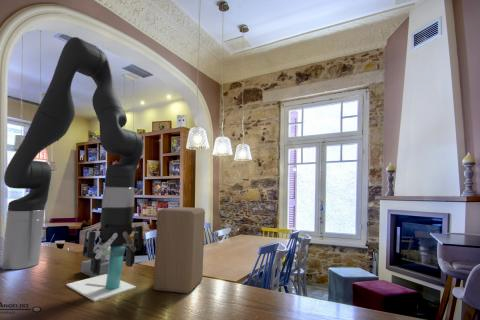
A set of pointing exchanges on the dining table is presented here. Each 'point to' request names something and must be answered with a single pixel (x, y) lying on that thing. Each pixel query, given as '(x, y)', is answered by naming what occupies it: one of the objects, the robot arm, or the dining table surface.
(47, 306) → the dining table surface
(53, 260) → the dining table surface
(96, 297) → the pad
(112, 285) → the marker
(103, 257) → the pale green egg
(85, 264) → the button housing
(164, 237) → the wooden block
